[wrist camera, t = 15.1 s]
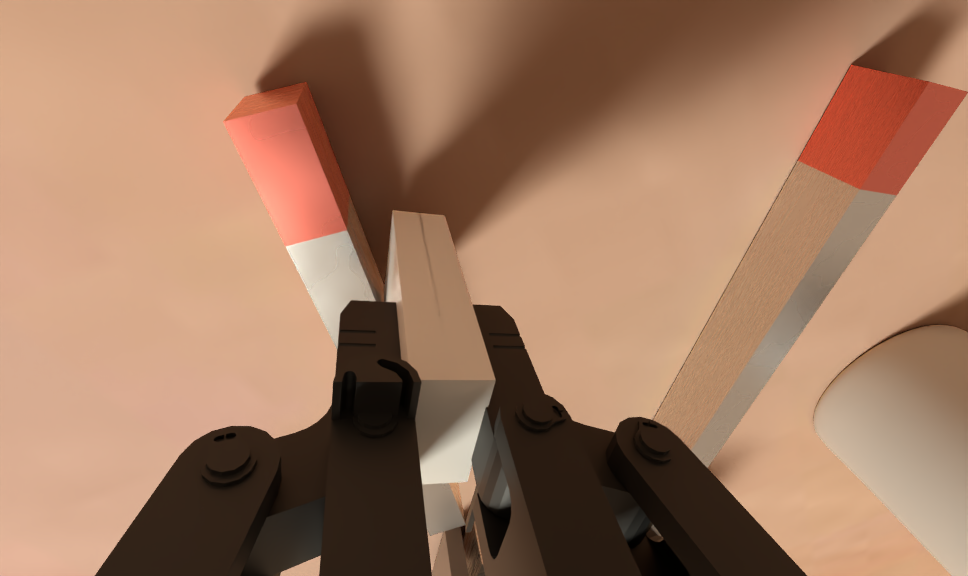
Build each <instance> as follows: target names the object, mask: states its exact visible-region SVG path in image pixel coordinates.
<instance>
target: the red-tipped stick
mask: <svg viewBox="0 0 968 576" xmlns="http://www.w3.org/2000/svg"><path fill="white" fill-rule="evenodd" d="M223 122H224V124H225V126H226V128H227V130H228V132H229V134H230V136H231V138H232V140H233V142H234V144H235V146H236V148H237V150H238V152H239V154H240V156H241V158H242V160H243V162H244V164H245V166H246V168H247V170H248V172H249V174H250V176H251V178H252V180H253V182H254V184H255V186H256V188H257V190H258V192H259V194H260V196H261V198H262V200H263V202H264V204H265V206H266V208H267V210H268V212H269V214H270V216H271V218H272V220H273V222H274V224H275V226H276V228H277V230H278V232H279V234H280V236H281V238H282V240H283V242H284V244H285V246H286V248H287V250H288V252H289V254H290V256H291V258H292V260H293V262H294V264H295V266H296V268H297V270H298V272H299V274H300V276H301V278H302V280H303V282H304V284H305V286H306V288H307V290H308V292H309V294H310V296H311V298H312V300H313V302H314V304H315V306H316V308H317V310H318V312H319V314H320V316H321V318H322V320H323V322H324V324H325V326H326V328H327V330H328V332H329V334H330V336H331V338H332V340H333V342H334V344H335V346H336V348H337V349H338V336H339V323H340V313H341V312H342V311H343V309H344V308H345V307H346V306H347V304H348V303H349V302H350V301H351V300H359V301H379V302H384V284H383V282H382V279H381V276H380V274H379V271H378V268H377V266H376V263H375V261H374V258H373V255H372V253H371V250H370V247H369V245H368V242H367V239H366V237H365V234H364V232H363V229H362V226H361V224H360V221H359V218H358V216H357V213H356V211H355V208H354V205H353V203H352V200H351V197H350V195H349V192H348V190H347V187H346V184H345V182H344V179H343V176H342V174H341V171H340V168H339V166H338V163H337V161H336V158H335V155H334V153H333V150H332V147H331V145H330V142H329V140H328V137H327V134H326V132H325V129H324V126H323V124H322V121H321V119H320V116H319V113H318V111H317V108H316V105H315V103H314V100H313V97H312V95H311V92H310V90H309V87H308V84H307V82H303V83H299V84H295V85H291V86H287V87H282V88H278V89H274V90H270V91H266V92H262V93H258V94H254V95H250V96H245V97H244V98H243V99H242V100H241V102H240V103H239V104H238V105H237V106H236V107H235V109H234V110H233V111H232V112H231V113H230V114H229V116H228V117H227V118H226V119H225V120H224V121H223ZM422 488H423V497H424V507H425V516H426V525H427V530H428V532H429V534H430V536H431V535H434V534H438V533H441V532H444V531H447V530H451V529H454V528H457V527H461V526H464V525H466V524H465V518H464V513H463V507H462V502H461V496H460V490H459V485H458V482H457V483H438V484H422Z"/></svg>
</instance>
